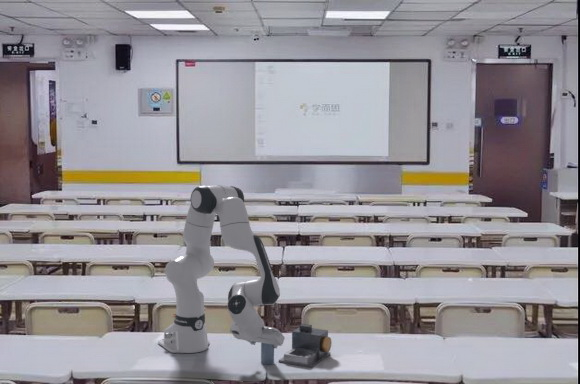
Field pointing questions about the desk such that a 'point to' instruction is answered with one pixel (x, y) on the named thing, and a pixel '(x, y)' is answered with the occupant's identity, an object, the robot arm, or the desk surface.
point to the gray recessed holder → (308, 346)
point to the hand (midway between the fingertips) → (264, 344)
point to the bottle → (267, 354)
